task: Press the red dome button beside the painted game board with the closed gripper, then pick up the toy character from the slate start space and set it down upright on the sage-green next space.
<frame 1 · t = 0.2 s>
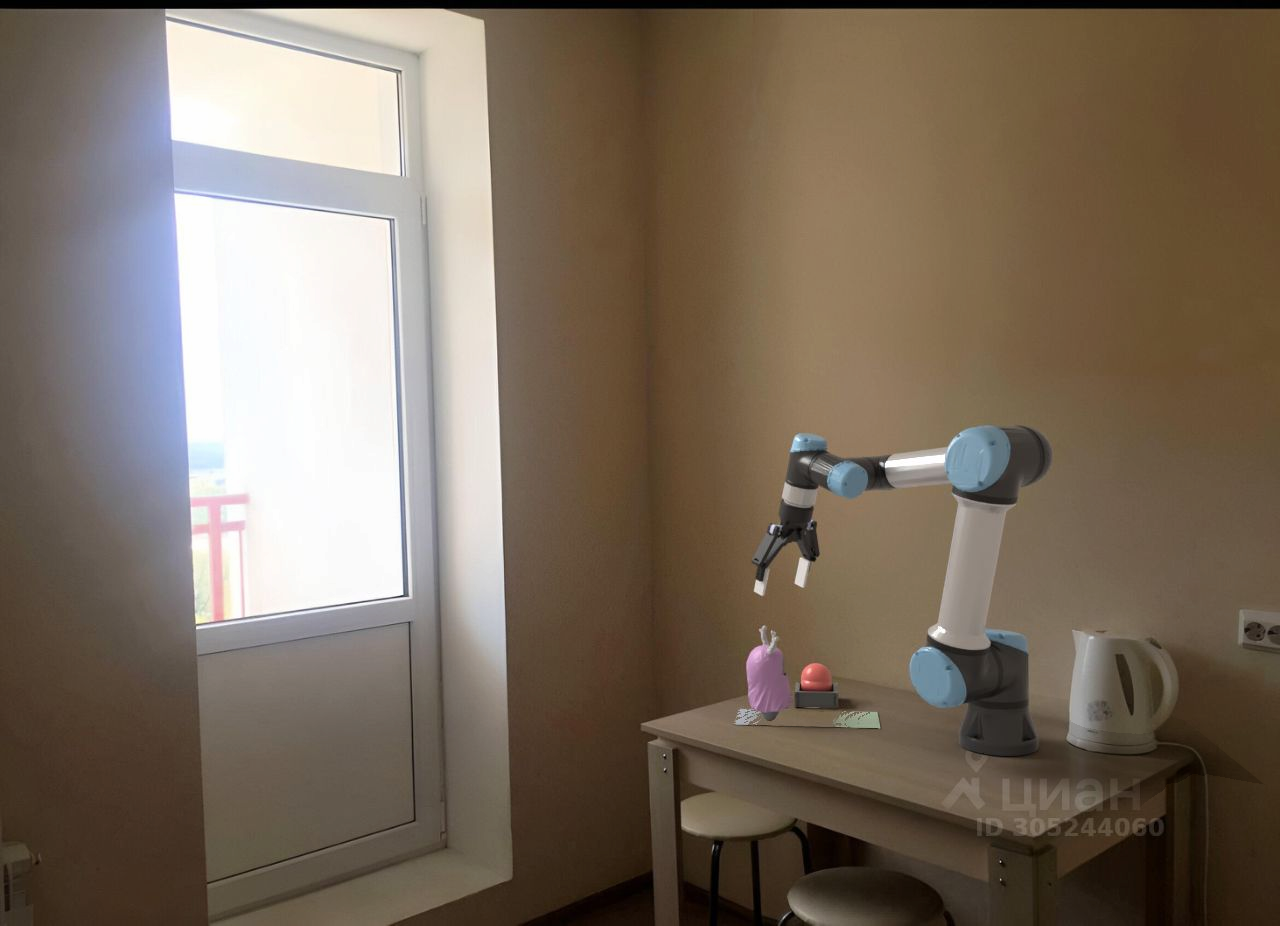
hand: (779, 589, 242), 27 cm above the table, tool tilted 20°, fingers open, 13 cm apart
dome housing: (816, 703, 246), on the table
dome button: (816, 678, 246), point 6 cm above the table, slide at 0.0 cm
toy character: (770, 718, 234), resting on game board
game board: (770, 718, 234), on the table
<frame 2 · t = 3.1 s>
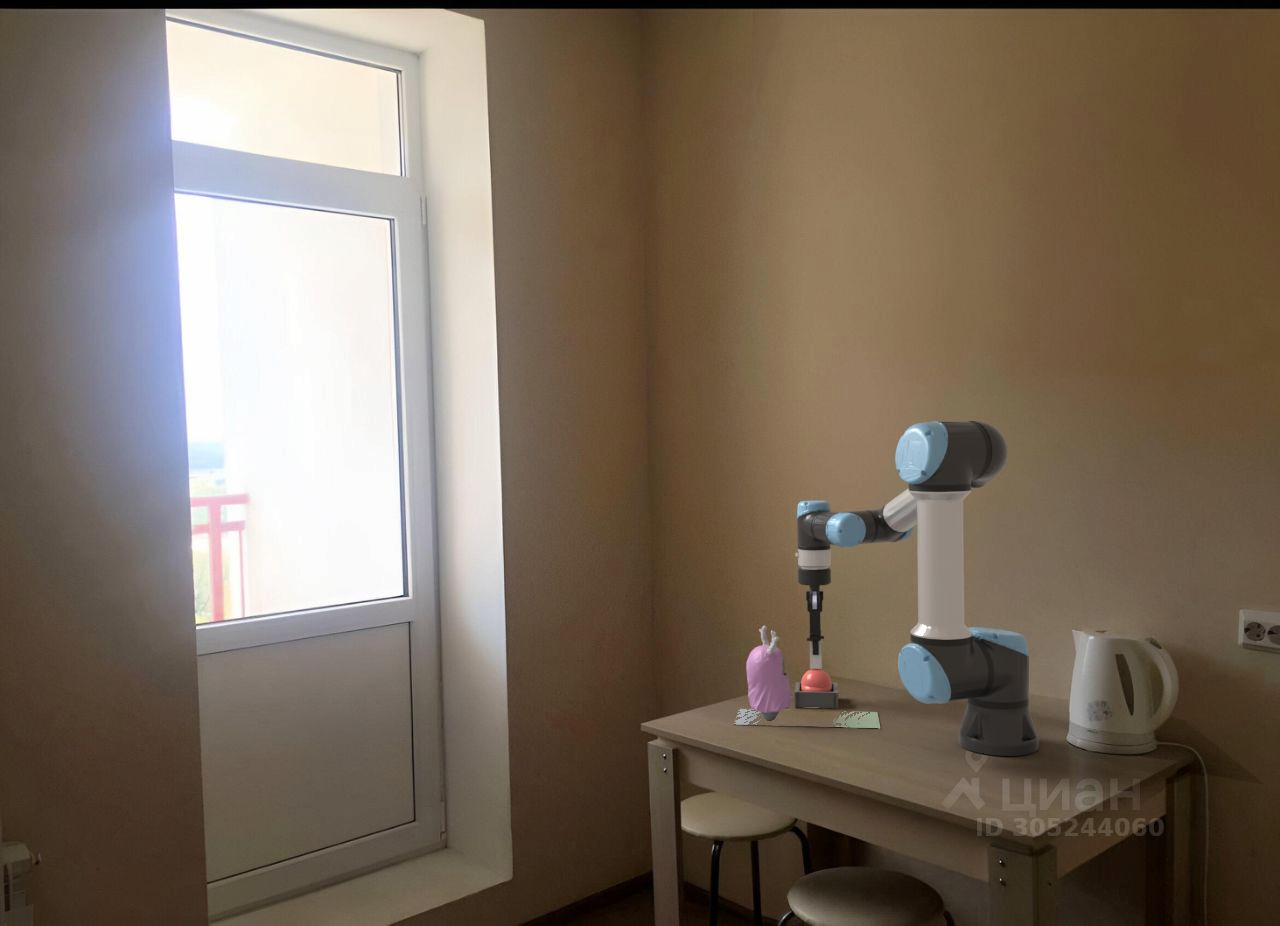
hand: (815, 667, 246), 8 cm above the table, tool pointing down, fingers closed
dome button: (816, 683, 246), point 5 cm above the table, slide at 1.3 cm
everything else where it was.
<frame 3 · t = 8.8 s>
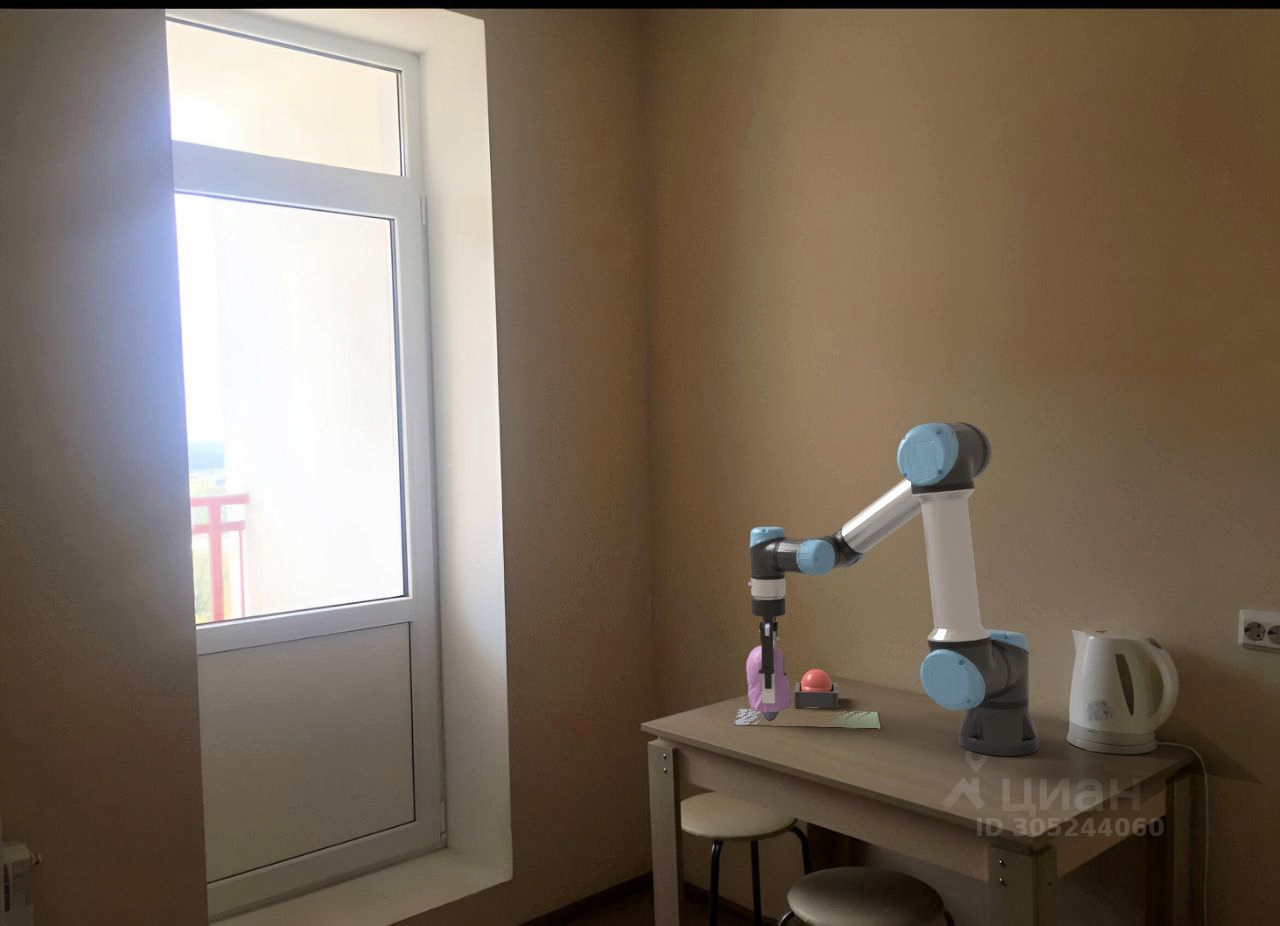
hand: (770, 696, 234), 5 cm above the table, tool pointing down, fingers closed on toy character, 10 cm apart
toy character: (770, 718, 234), resting on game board, touching gripper
everything else where it was.
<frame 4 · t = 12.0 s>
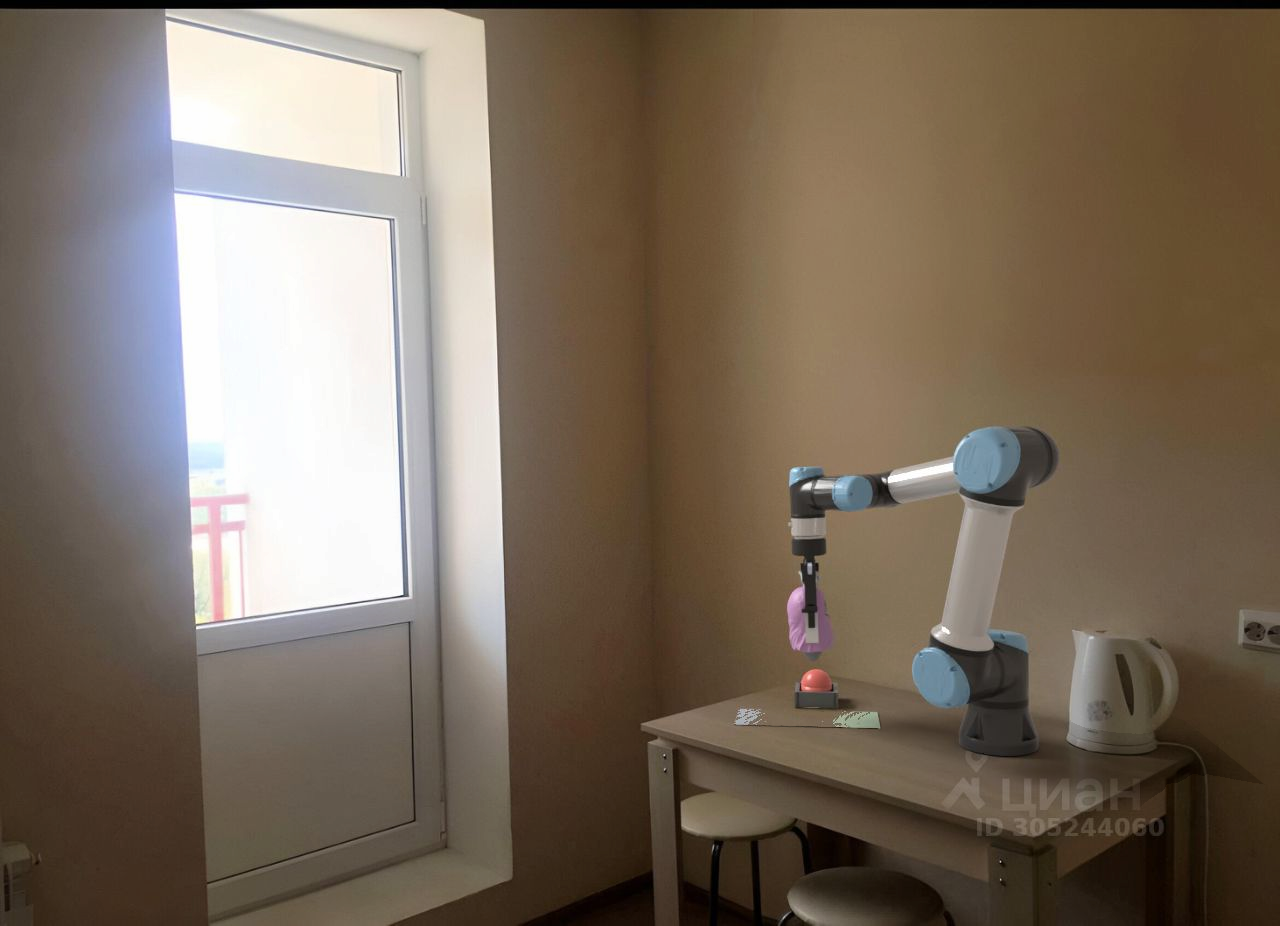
hand: (812, 638, 232), 18 cm above the table, tool pointing down, fingers closed on toy character, 10 cm apart
toy character: (812, 659, 232), point 13 cm above the table, touching gripper
everything else where it was.
when the fingers open (6 cm above the table, at t = 15.5 s): toy character drops 1 cm, resting on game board.
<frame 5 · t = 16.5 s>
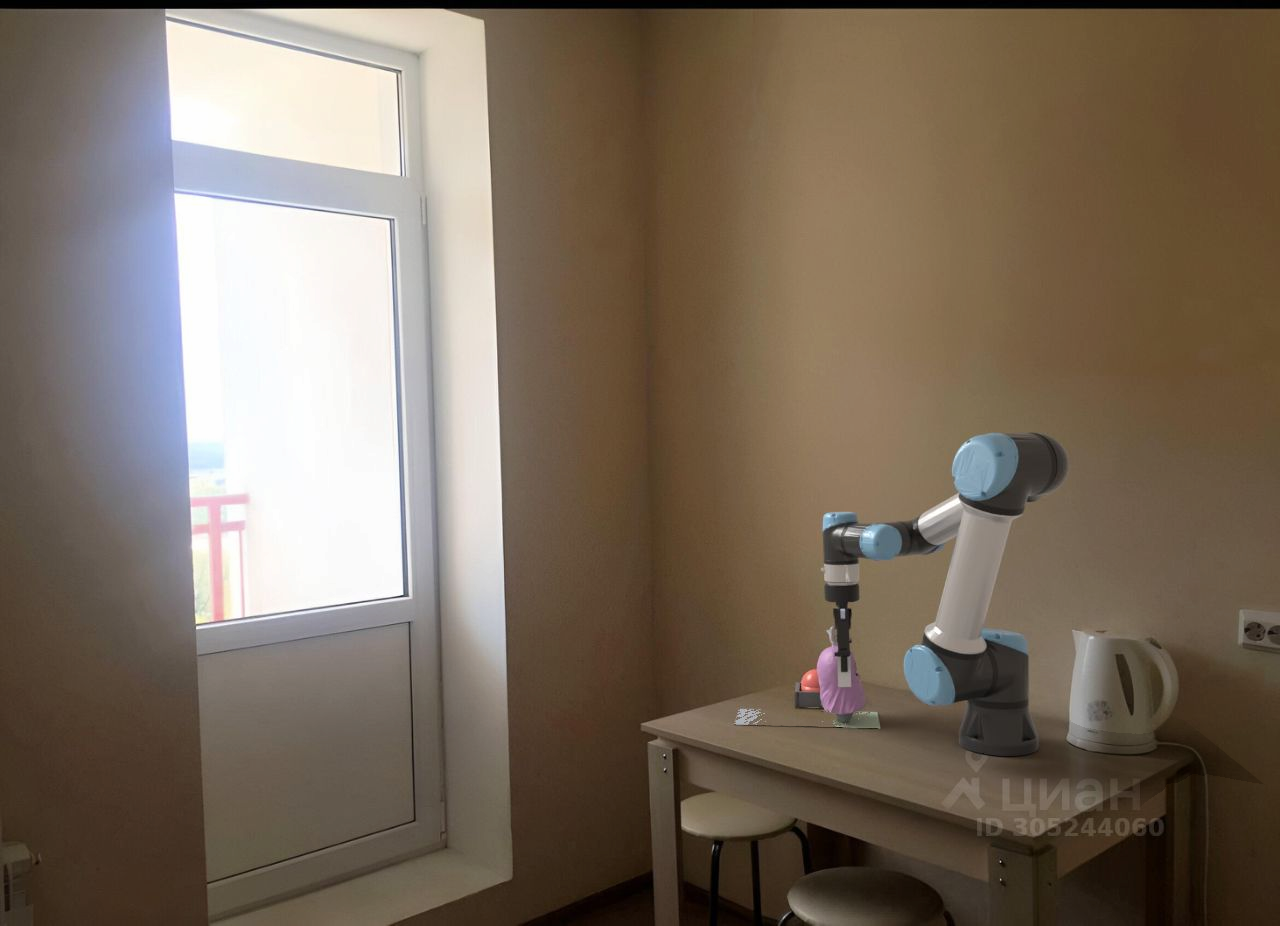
hand: (844, 679, 231), 9 cm above the table, tool pointing down, fingers open, 13 cm apart
toy character: (844, 719, 231), resting on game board
everything else where it was.
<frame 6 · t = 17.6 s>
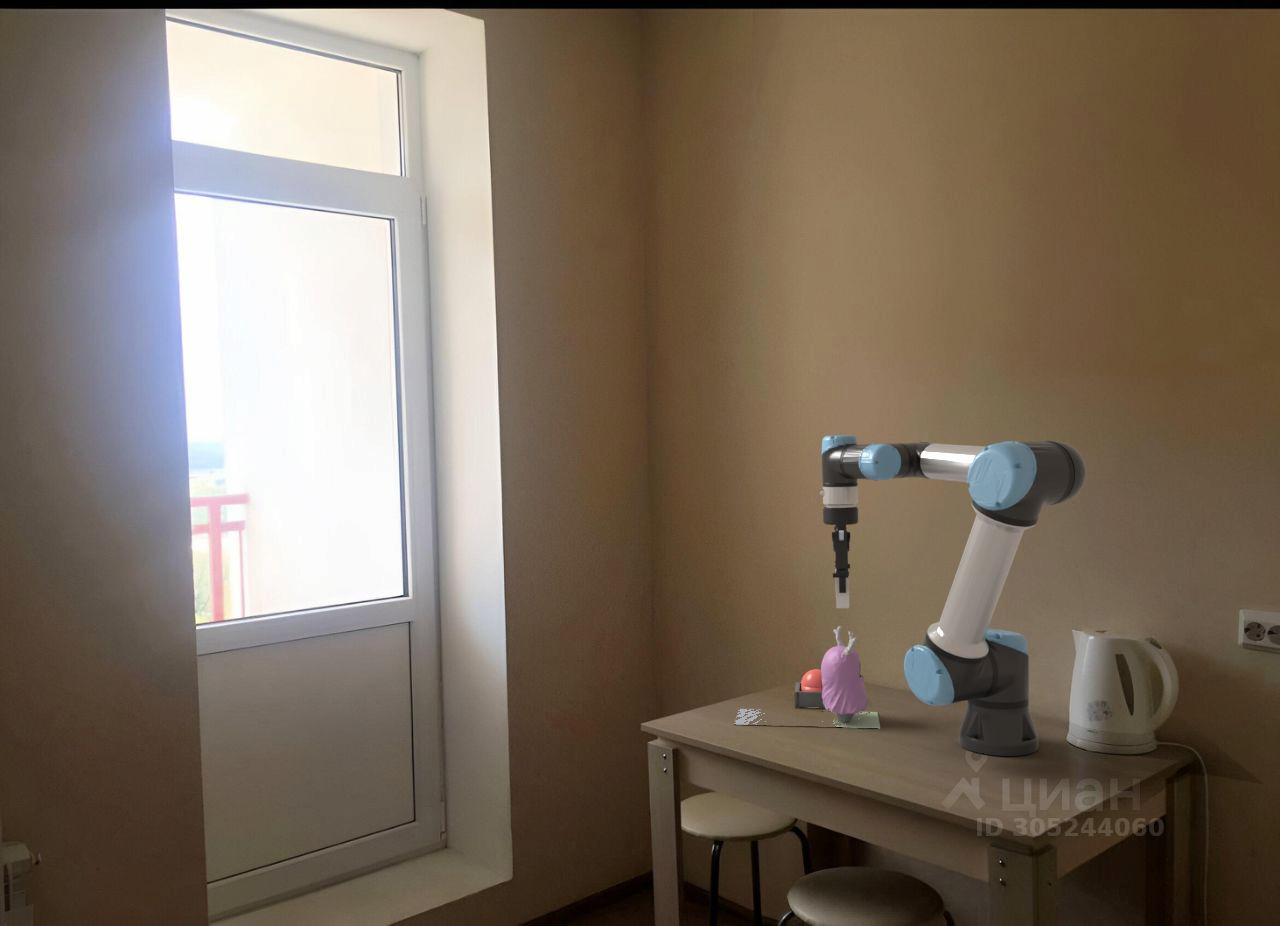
hand: (842, 603, 231), 26 cm above the table, tool pointing down, fingers open, 13 cm apart
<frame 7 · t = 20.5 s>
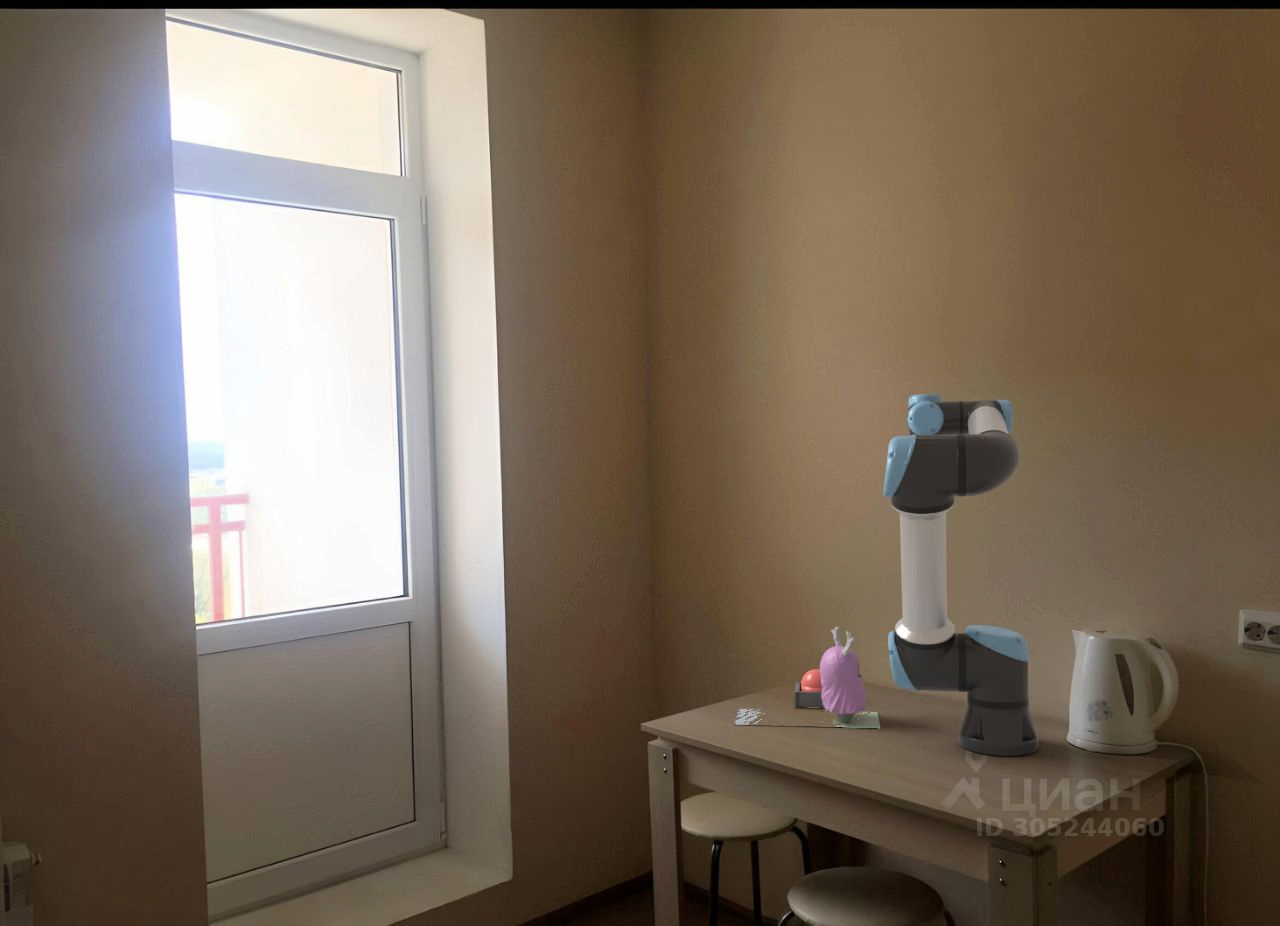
hand: (927, 552, 246), 35 cm above the table, tool pointing down, fingers open, 13 cm apart
nothing on the table moved.
at the end: dome button slide at 1.4 cm; toy character inside the target area (0.2 cm from its centre), resting on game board; toy character tilted 0° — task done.
